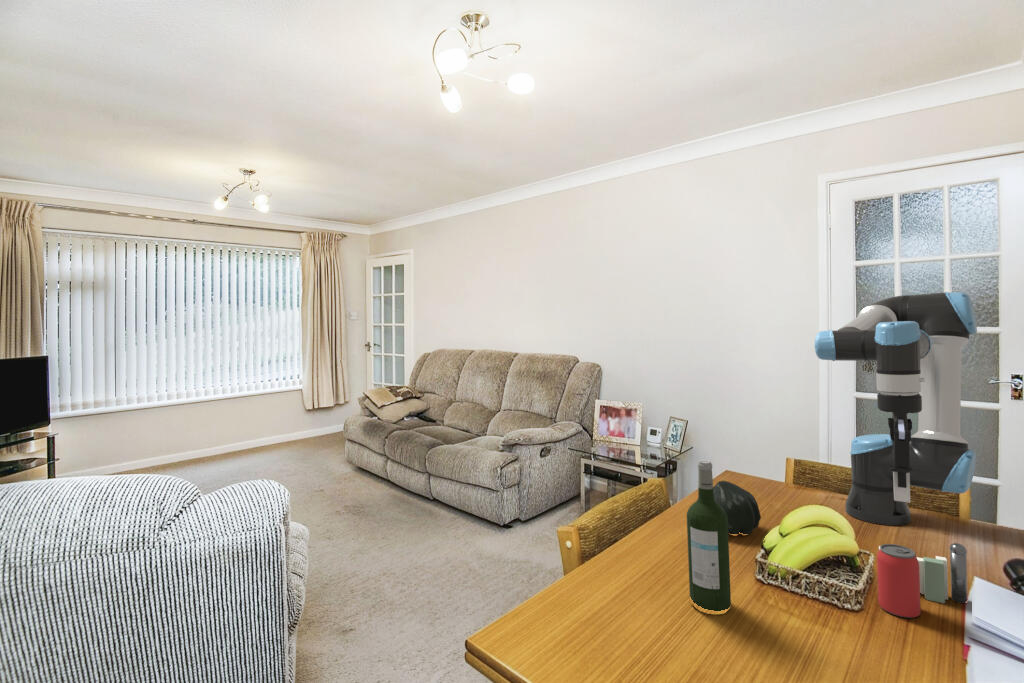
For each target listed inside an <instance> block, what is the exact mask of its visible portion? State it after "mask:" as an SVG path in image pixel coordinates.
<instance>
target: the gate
mask: <svg viewBox="0 0 1024 683" xmlns="http://www.w3.org/2000/svg"><path fill="white" fill-rule="evenodd" d="M880 546H881V545H879V546H878V551H879V550H880ZM916 558H917V560H918V562H919V573H920V593H921V594H920V595H923V594H924V565H923V558H922V557H917V556H916ZM935 559H939V560H943V563H944V588H945V600H949V578H948V559H947V558H946V557H944V556H938V555H935Z"/></svg>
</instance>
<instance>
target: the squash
mask: <svg viewBox="0 0 1024 683" xmlns="http://www.w3.org/2000/svg"><path fill="white" fill-rule="evenodd" d="M713 491H714V499H715V502H716V503H717V504H719V505H720V506H721V507H722V508H723V509H724V511H725V512H726V514H727V517H728V533H730V534H738V535H740V534H739V532H740V533H743V534H750V535H751V534H752V532H753V530H755V529H757V528H758V527H759V525H760V521H761V518H762V516H761V512H760V509H759V505H758V502H757V500H756V498H755V496H754V495H753V494H752V493H751V492H750V491H747V490H746V489H744V488H742V487H740V486H739V485H737V484H734V483H732V482H731V481H730V482H729V481H726V480H719V481H718V482H717V483H716V484H715V485H713Z"/></svg>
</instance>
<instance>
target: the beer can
mask: <svg viewBox="0 0 1024 683" xmlns="http://www.w3.org/2000/svg"><path fill="white" fill-rule="evenodd" d="M879 546H880V550H879V549H878V553H877V555H876V565H877V566H876V568H877V569H876V570H877V571H876V572H877V599H878V605H879V606H880V607H881V608H882V609H883V611H885V612H888V613H890V614H891V615H893V616H897V617H900V618H907V619H913V618H917V617H919V616H920V615H921V612H922V611H921V594H920V573H919V562H918V560H917V558H916V557H917V556H916V552H915V551H914V550H913V549H911V548H908V547H906V546H903V545H898V544H895V543H894V544H891V543H885V544H881V545H879Z"/></svg>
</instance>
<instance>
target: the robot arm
mask: <svg viewBox="0 0 1024 683" xmlns="http://www.w3.org/2000/svg"><path fill="white" fill-rule="evenodd" d="M977 327H978V325H977V318H976V313H975V308H974V306H973V302H972V297H970V295H969V294H968V293H966V292H963V291H961V292H959V291H957V292H956V291H955V292H953V291H952V292H948V291H946V292H937V293H936V292H935V293H923V294H922V293H921V294H909V295H902V294H901V295H897V296H891V297H888V298H883V299H881V300H879V301H876V302H874V303H873V302H872V303H871V304H869V305H868V306H865V307H864V308H863V309H862V310H860V311H859V313H858V314H857V316H856V317H855V318H854V319H852V320H851V321H849V322H848V323H846V324H845V325H843V326H842V327H840V328H839V329H838V330H832V329H829V330H821V331H819V332H818V333H816V336H815V338H814V352H815V354H816V357H817V358H818V359H819V360H823V361H832V362H835V361H843V362H844V361H854V362H857V361H858V362H859V361H860V362H863V361H865V362H875V363H876V372H875V373H876V374H875V375H876V390H877V391H878V393H877V395H876V396H877V409H878V411H882V412H886V413H892V414H891V416H892V417H887V423H888V424H887V425H888V427H889V434H887V433H879V434H878V433H877V434H875V433H874V434H865V435H859V436H858V435H857V436H856V437H854V438H853V439H851V442H850V444H851V445H850V452H849V454H850V466H851V467H850V468H851V487H850V489H849V492H848V495H847V498H846V501H845V505H844V506H845V512H846V513H847V514H848V515H849V516H850V517H852V518H855V519H858V520H860V521H864V522H867V523H871V524H877V525H878V524H879V525H884V526H886V525H887V526H902V525H907V524H909V523H911V519H912V518H911V515H912V514H911V510H910V508H909V506H908V503H911V487H916V488H922V489H927V490H933V491H939V492H943V493H946V492H947V493H954V494H964V493H966V492H967V491H969V489H970V488H971V484H972V481H973V478H974V475H975V474H974V473H975V468H976V464H977V462H976V458H977V454H976V451H975V450H973V449H970V448H969V442H968V441H967V440H965V439H964V438H963V436H961V435H962V434H961V414H962V413H961V410H962V409H961V407H962V406H961V405H962V404H961V403H962V402H961V395H962V394H961V393H962V389H961V388H962V347H964V346H965V345H966V344H967V343H969V341H970V335H971V336H972V335H976V334H977V333H978V329H977ZM917 413H918V419H917V421H918V422H917V423H918V424H917V425H918V427H917V428H918V429H917V432H915V433H914V434H913V435H912V433H911V432H912V429H913V421H912V419H911V418H908V414H917Z"/></svg>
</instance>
